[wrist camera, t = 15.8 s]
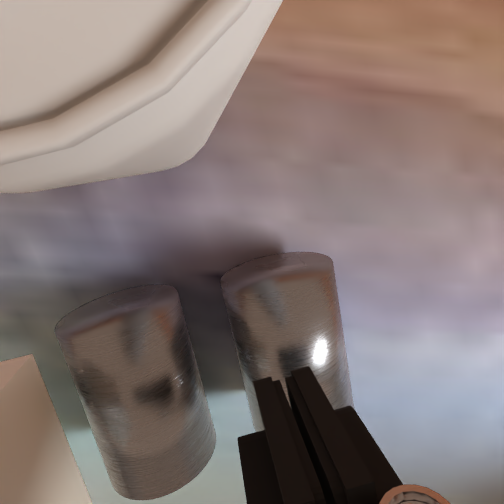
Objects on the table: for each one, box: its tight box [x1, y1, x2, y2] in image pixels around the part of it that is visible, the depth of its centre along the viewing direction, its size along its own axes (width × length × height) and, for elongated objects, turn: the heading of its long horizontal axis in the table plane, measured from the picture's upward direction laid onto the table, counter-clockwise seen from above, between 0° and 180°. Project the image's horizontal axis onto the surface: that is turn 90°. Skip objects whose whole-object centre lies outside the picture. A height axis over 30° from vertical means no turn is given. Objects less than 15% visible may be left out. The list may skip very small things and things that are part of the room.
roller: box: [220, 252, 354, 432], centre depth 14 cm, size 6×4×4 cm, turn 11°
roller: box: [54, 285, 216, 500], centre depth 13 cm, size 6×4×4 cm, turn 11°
